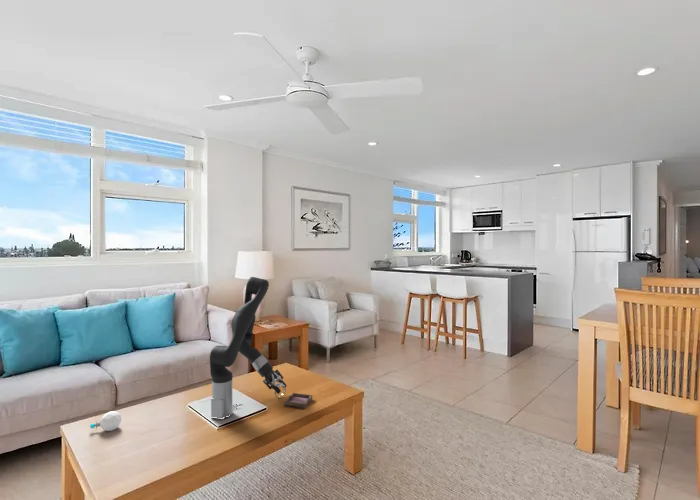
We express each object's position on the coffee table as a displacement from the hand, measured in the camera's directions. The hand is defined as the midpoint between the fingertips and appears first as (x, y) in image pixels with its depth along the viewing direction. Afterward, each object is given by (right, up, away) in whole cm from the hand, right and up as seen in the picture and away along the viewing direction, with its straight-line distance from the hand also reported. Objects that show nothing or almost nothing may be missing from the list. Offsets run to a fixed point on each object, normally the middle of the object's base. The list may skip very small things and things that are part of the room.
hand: (282, 389), depth 198 cm
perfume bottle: (-72, -5, -34) cm, 79 cm away
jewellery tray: (+9, -5, -5) cm, 12 cm away
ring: (-2, -5, 0) cm, 5 cm away
